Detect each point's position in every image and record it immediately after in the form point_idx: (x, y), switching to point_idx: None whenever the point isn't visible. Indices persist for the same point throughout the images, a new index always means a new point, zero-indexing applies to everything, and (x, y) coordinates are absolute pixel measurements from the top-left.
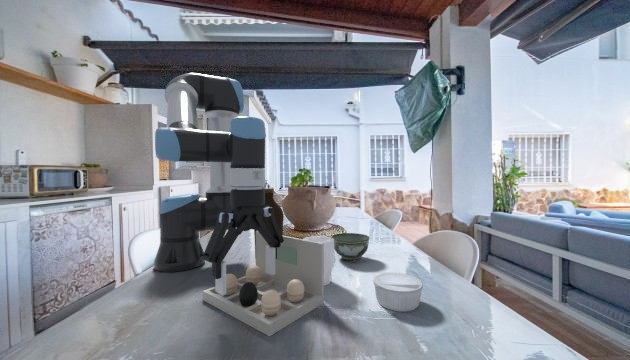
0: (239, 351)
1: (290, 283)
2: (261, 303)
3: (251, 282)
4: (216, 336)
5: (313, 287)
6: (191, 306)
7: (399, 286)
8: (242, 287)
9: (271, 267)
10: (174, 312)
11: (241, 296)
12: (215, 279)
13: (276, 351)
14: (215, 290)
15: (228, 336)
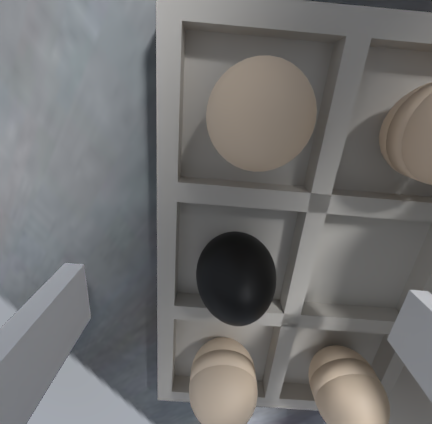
0: (85, 357)
1: (339, 419)
2: (193, 372)
3: (251, 320)
4: None
5: (402, 409)
6: (97, 25)
7: None
8: (208, 292)
9: (421, 369)
10: (17, 12)
11: (196, 278)
12: (17, 311)
13: (138, 402)
14: (61, 266)
15: (97, 305)
